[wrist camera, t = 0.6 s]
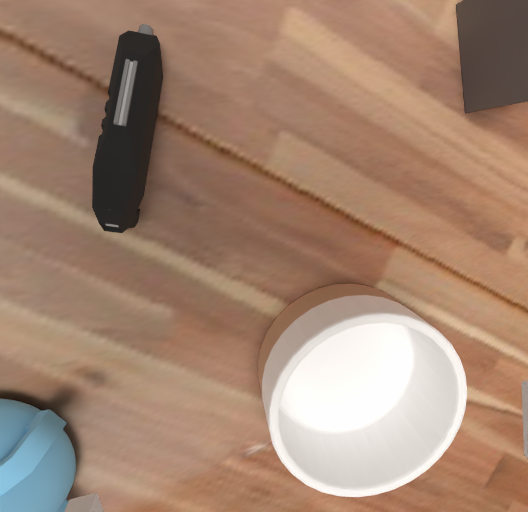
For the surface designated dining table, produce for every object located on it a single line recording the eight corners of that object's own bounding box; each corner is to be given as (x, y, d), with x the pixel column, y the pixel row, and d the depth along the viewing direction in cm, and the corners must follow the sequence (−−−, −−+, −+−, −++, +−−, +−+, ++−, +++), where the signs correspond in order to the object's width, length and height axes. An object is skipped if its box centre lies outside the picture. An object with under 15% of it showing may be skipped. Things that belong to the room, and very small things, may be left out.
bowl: (284, 263, 38) (305, 291, 30) (442, 303, 41) (499, 338, 33) (237, 420, 41) (243, 484, 33) (386, 446, 44) (425, 509, 36)
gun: (169, 93, 38) (163, 5, 29) (143, 256, 34) (126, 216, 24) (138, 88, 38) (122, -4, 28) (108, 252, 33) (77, 210, 24)
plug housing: (456, 5, 34) (527, -41, 26) (503, -5, 35) (587, -53, 27) (465, 113, 36) (533, 100, 29) (509, 103, 37) (588, 87, 29)
